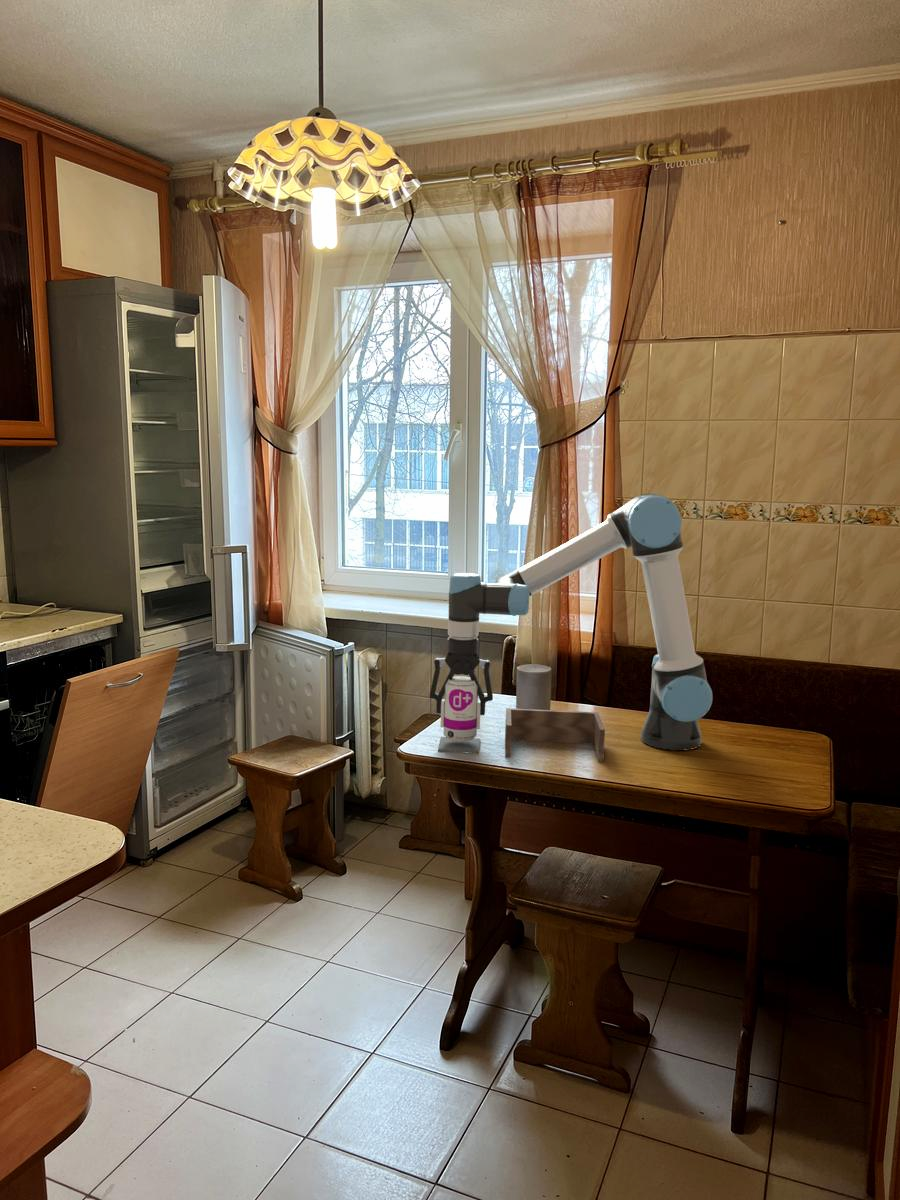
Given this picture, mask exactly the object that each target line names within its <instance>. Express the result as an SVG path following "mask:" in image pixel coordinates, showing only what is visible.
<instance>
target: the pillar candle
mask: <svg viewBox="0 0 900 1200" xmlns="http://www.w3.org/2000/svg"><path fill="white" fill-rule="evenodd" d="M515 695H516V697H515V709H536V710H551V701H552V699H551V698H552V668H551V667H550V666H548V665H543V664H538V663H537V664H536V663H533V664H532V663H531V664H530V663H529V664H527V663H526V664H521V665H519V666H517V667H516V694H515Z"/></svg>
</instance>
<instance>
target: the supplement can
mask: <svg viewBox="0 0 900 1200" xmlns="http://www.w3.org/2000/svg"><path fill="white" fill-rule="evenodd" d="M444 699H445V703H444V727H443V737H446V738H447V739H448V740H451V741H457V742H466V741H471V740H473V739H474V738H477V734H478V733H477V731H478V729H477V703H478V701H479V697H478V694H477V685H476V683H475V680H474V681H472V680H471V678H470V676H469V675H463V674H460V675H455V674H454V676H453V678H452V680H449V679H448V682H447V683H446V685H445V694H444Z"/></svg>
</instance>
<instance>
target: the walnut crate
mask: <svg viewBox="0 0 900 1200" xmlns="http://www.w3.org/2000/svg"><path fill="white" fill-rule="evenodd" d="M505 709H506V710H505V726H504V727H505V730H504V758H507V757H510V758H511V743H512V741H520V740H523V742H541V743H542V741H543V742H546V743H563V742H565V743H566V744H567V743H568V744H583V745H584V744H588V745H589V744H590V745H592V747H593V750H594V754H595V757H596V760H597V762H598V763H604V755H605V754H604V753H605V738H606V737H605V736H606V735H605V733H606V728H605V726H604V723H603V721H602V718H601V715H600V713H599V712H598V711H596V712H595V711H581V710H580V711H577V710H576V711H575V710H573V711H572V710H557V709H555V710H552V709H550V710H536V709H516V708H512V707H511V708H510V707H509V708H508V707H506V708H505ZM565 743H564V744H565Z"/></svg>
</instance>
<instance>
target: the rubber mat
mask: <svg viewBox="0 0 900 1200" xmlns="http://www.w3.org/2000/svg"><path fill="white" fill-rule="evenodd" d="M480 746H481V738H479V737H478V738H477V737H475V738H474V739H473V740H471V741H466V742H457V741H451V740H448V739H447V738H446V737H445V736H441V737H440V738H439V744H438V749H437V751H438V752H441V753H459V752H468V753H467V754H480V749H479V748H480Z"/></svg>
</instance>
